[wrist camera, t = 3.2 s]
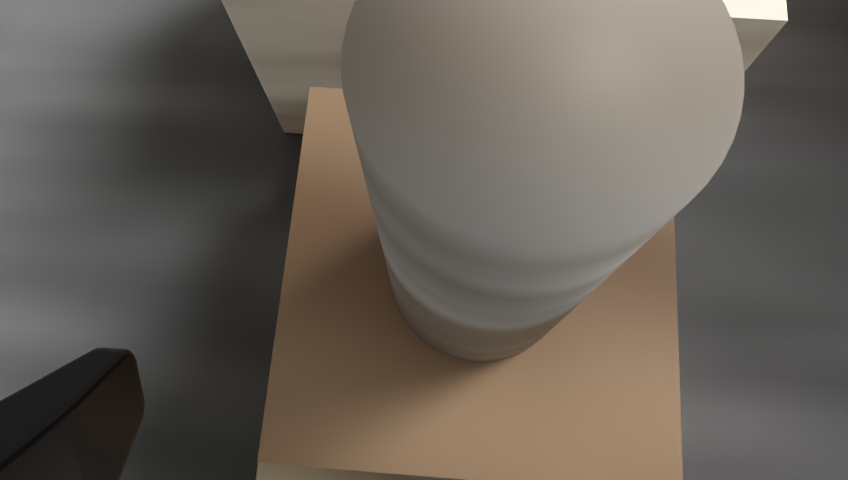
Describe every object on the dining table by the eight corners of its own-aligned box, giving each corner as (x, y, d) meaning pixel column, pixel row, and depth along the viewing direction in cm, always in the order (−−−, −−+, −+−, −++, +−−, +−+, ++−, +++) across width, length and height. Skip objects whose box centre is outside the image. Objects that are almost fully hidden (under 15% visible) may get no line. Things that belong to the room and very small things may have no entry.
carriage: (644, 488, 15) (1093, 591, 5) (283, 459, 15) (-12, 498, 5) (638, 154, 17) (933, -252, 7) (326, 134, 17) (182, -287, 7)
